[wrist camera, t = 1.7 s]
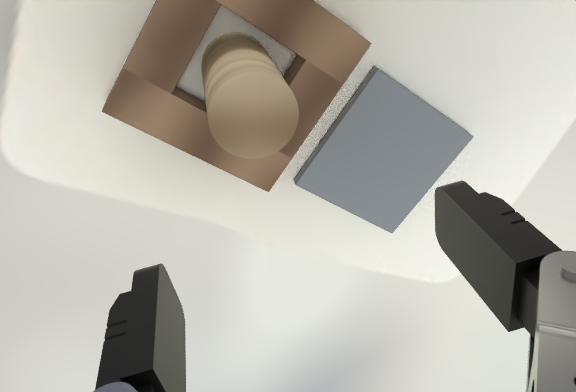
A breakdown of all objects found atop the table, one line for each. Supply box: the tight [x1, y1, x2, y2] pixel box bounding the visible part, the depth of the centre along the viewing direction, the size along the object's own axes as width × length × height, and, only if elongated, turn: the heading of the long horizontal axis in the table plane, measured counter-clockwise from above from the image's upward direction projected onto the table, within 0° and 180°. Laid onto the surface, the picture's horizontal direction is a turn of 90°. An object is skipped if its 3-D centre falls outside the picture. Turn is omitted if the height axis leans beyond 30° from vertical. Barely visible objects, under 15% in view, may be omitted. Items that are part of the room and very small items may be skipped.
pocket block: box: [102, 0, 372, 192], centre depth 29 cm, size 12×12×2 cm
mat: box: [294, 66, 474, 233], centre depth 35 cm, size 10×10×1 cm
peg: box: [202, 33, 299, 159], centre depth 26 cm, size 4×4×9 cm
